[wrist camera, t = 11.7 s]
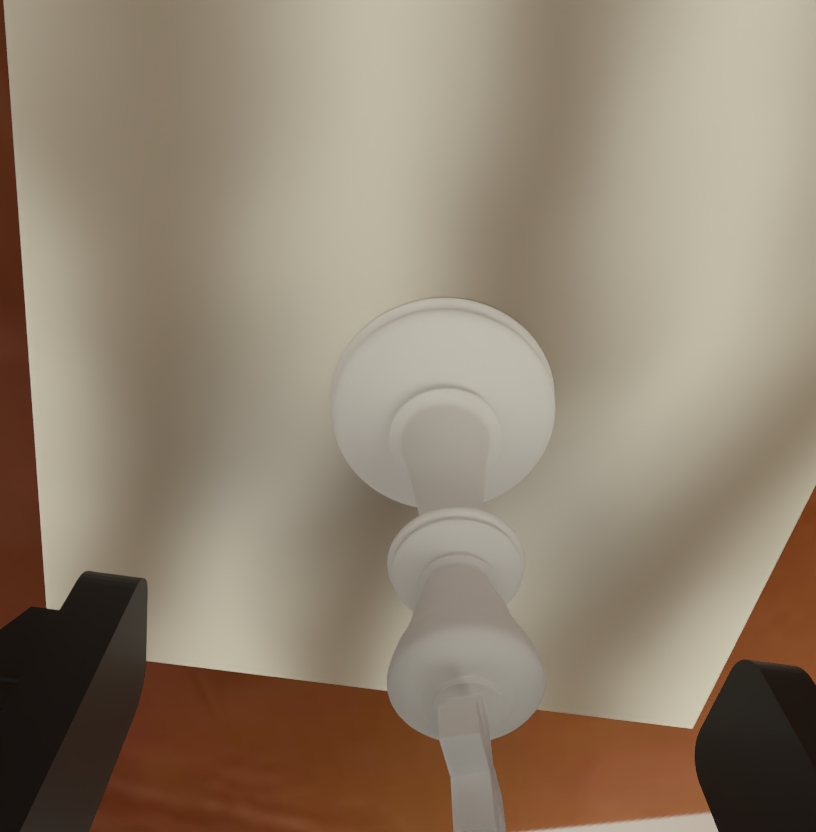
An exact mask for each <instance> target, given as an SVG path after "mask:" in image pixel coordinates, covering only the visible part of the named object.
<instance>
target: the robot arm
mask: <svg viewBox="0 0 816 832" xmlns="http://www.w3.org/2000/svg"><path fill="white" fill-rule="evenodd" d="M147 602H148V586H147V581H146V579H145V578H139V577H132V576H124V575H116V574H109V573H101V572H94V571H85V572H83V573H82V574H81V575H80V577H79V578H78V580H77V581H76V583H75V585H74V586H73V588H72V590H71V591H70V593H69V595H68V597H67V598H66V600H65V602H64V603H63V605H62V607H61V608H60V610H54V609H46V608H38V607H30V608H29V609H27V610H26V611H25V612H23V613H22V614H21V615H19V616H18V617H17V618H15V619H14V620H13V621H11V622H10V623H9V624H7V625H6V626H5V627H3V628H2V629H1V630H0V832H89V830H90V828H91V825H92V823H93V820H94V818H95V815H96V812H97V810H98V807H99V805H100V802H101V800H102V797H103V794H104V792H105V789H106V787H107V784H108V782H109V779H110V776H111V774H112V771H113V769H114V766H115V764H116V761H117V759H118V756H119V753H120V751H121V748H122V746H123V743H124V741H125V738H126V735H127V733H128V730H129V728H130V725H131V723H132V720H133V718H134V715H135V712H136V709H137V706H138V703H139V699H140V695H141V691H142V687H143V682H144V676H145V669H146V645H147ZM695 766H696V772H697V776H698V780H699V783H700V786H701V788H702V791H703V793H704V796H705V798H706V801H707V803H708V806H709V808H710V811H711V813H712V816H713V818H714V821H715V823H716V826H717V829H718V831H719V832H816V685H815V684H814V682H813V681H812V679H811V678H810V676H809V675H808V674H807V673H806V672H805V671H804V670H803V669H801V668H800V667H797V666H790V665H783V664H775V663H768V662H760V661H753V660H741V661H739V662H737V663H736V664H735V665H734V667H733V668H732V670H731V672H730V674H729V676H728V677H727V679H726V681H725V683H724V685H723V687H722V689H721V691H720V693H719V695H718V697H717V699H716V700H715V702H714V704H713V706H712V708H711V710H710V712H709V714H708V716H707V718H706V720H705V722H704V724H703V725H702V727H701V729H700V731H699V734H698V737H697V740H696V746H695Z"/></svg>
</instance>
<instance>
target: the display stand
mask: <svg viewBox="0 0 816 832" xmlns="http://www.w3.org/2000/svg"><path fill="white" fill-rule="evenodd" d="M3 1H4V15H5V29H6V43H7V57H8V71H9V85H10V99H11V114H12V128H13V142H14V156H15V170H16V184H17V198H18V212H19V226H20V241H21V255H22V269H23V283H24V297H25V311H26V325H27V339H28V353H29V367H30V382H31V396H32V410H33V424H34V438H35V452H36V466H37V480H38V494H39V509H40V523H41V537H42V551H43V565H44V579H45V593H46V607H47V609H54V610H60V608H61V607H62V605H63V603H64V602H65V600H66V598H67V597H68V595H69V593H70V591H71V590H72V588H73V586H74V585H75V583H76V581H77V580H78V578H79V577H80V575H81V574H82V573H83V572H85V571H94V572H101V573H109V574H116V575H124V576H132V577H139V578H145V579H146V581H147V586H148V602H147V645H146V661H152V662H160V663H168V664H176V665H184V666H192V667H200V668H208V669H216V670H224V671H232V672H240V673H248V674H256V675H264V676H272V677H280V678H288V679H296V680H304V681H312V682H320V683H328V684H336V685H344V686H352V687H360V688H368V689H376V690H385V691H387V674H388V669H389V665H390V662H391V659H392V656H393V654H394V651H395V649H396V647H397V645H398V642H399V640H400V638H401V637H402V635H403V633H404V632H405V631H406V629H407V627H408V625H409V623H410V621H411V619H412V615H413V612H414V611H412V610H411V609H409V608H408V607H407V606H406V605H405V604H404V603H403V602H402V601H401V600H400V598H399V597H398V595H397V594H396V592H395V590H394V587H393V585H392V583H391V581H390V578H389V574H388V569H387V557H388V552H389V549H390V546H391V544H392V542H393V540H394V538H395V537H396V535H397V534H398V532H399V531H400V530H401V529H402V528H403V527H404V526H405V525H406V524H408V523H409V522H410V521H411V520H413V519H414V518H416V517H418V516H419V512H418V508H417V507H413V506H409V505H405V504H402V503H400V502H397V501H394V500H392V499H390V498H388V497H386V496H384V495H382V494H380V493H379V492H377V491H376V490H374V489H373V488H371V487H370V486H369V485H368V484H366V483H365V482H364V481H363V480H362V479H361V478H360V477H359V476H358V475H357V474H356V473H355V472H354V471H353V469H352V468H351V467H350V466H349V464H348V463H347V461H346V460H345V458H344V456H343V454H342V453H341V451H340V448H339V446H338V443H337V441H336V438H335V434H334V430H333V424H332V414H331V404H330V396H331V386H332V381H333V377H334V373H335V370H336V367H337V365H338V362H339V360H340V358H341V356H342V354H343V353H344V351H345V349H346V348H347V346H348V345H349V344H350V342H351V341H352V340H353V339H354V337H355V336H356V335H357V334H358V333H359V332H360V331H361V330H362V329H363V328H364V327H365V326H367V325H368V324H369V323H370V322H372V321H373V320H374V319H376V318H377V317H379V316H381V315H382V314H384V313H386V312H388V311H390V310H392V309H394V308H396V307H399V306H401V305H404V304H407V303H410V302H414V301H418V300H423V299H430V298H459V299H466V300H471V301H475V302H479V303H482V304H485V305H488V306H490V307H493V308H495V309H497V310H499V311H501V312H503V313H505V314H506V315H508V316H510V317H511V318H513V319H514V320H515V321H517V322H518V323H519V324H520V325H522V326H523V327H524V328H525V329H526V330H527V331H528V332H529V333H530V334H531V335H532V337H533V338H534V339H535V340H536V342H537V343H538V345H539V346H540V348H541V349H542V351H543V353H544V355H545V357H546V359H547V361H548V363H549V366H550V369H551V373H552V377H553V382H554V391H555V420H554V426H553V430H552V434H551V437H550V440H549V442H548V445H547V447H546V449H545V451H544V453H543V455H542V456H541V458H540V459H539V461H538V462H537V464H536V465H535V466H534V468H533V469H532V470H531V471H530V472H529V473H528V474H527V475H526V476H525V477H524V478H523V479H522V480H521V481H520V482H519V483H518V484H516V485H515V486H514V487H512V488H511V489H509V490H508V491H506V492H505V493H503V494H501V495H499V496H497V497H495V498H493V499H491V500H489V501H486V502H484V511H486V512H489V513H491V514H493V515H495V516H497V517H499V518H500V519H502V520H503V521H505V522H506V523H507V524H508V525H509V526H510V527H511V528H512V529H513V530H514V531H515V533H516V534H517V535H518V537H519V539H520V541H521V543H522V546H523V549H524V554H525V568H524V572H523V576H522V580H521V583H520V586H519V588H518V590H517V592H516V594H515V595H514V597H513V598H512V599H511V600H510V602H509V603H508V604H506V606H507V608H508V610H509V612H510V614H511V615H512V617H513V618H514V620H515V621H516V622H517V623H518V624H519V625H520V626H521V627H522V628H523V630H524V631H525V632H526V634H527V635H528V637H529V639H530V640H531V642H532V643H533V645H534V646H535V648H536V650H537V652H538V654H539V656H540V658H541V660H542V663H543V666H544V670H545V690H544V694H543V697H542V700H541V702H540V704H539V706H538V708H537V710H545V711H553V712H561V713H569V714H577V715H585V716H593V717H601V718H609V719H617V720H625V721H633V722H641V723H649V724H657V725H665V726H673V727H681V728H689V729H693V727H694V725H695V723H696V721H697V719H698V717H699V715H700V713H701V711H702V709H703V707H704V705H705V703H706V701H707V699H708V697H709V695H710V693H711V691H712V689H713V687H714V685H715V683H716V681H717V679H718V677H719V675H720V673H721V671H722V669H723V667H724V665H725V664H726V662H727V660H728V658H729V656H730V654H731V652H732V650H733V648H734V646H735V644H736V642H737V640H738V638H739V636H740V634H741V632H742V630H743V628H744V626H745V624H746V622H747V620H748V618H749V616H750V614H751V612H752V610H753V608H754V606H755V604H756V602H757V600H758V598H759V596H760V594H761V592H762V590H763V588H764V586H765V584H766V582H767V580H768V578H769V576H770V574H771V572H772V570H773V568H774V566H775V564H776V563H777V561H778V559H779V557H780V555H781V553H782V551H783V549H784V547H785V545H786V543H787V541H788V539H789V537H790V535H791V533H792V531H793V529H794V527H795V525H796V523H797V521H798V519H799V517H800V515H801V513H802V511H803V509H804V507H805V505H806V503H807V501H808V499H809V497H810V495H811V493H812V491H813V489H814V487H815V485H816V0H3Z"/></svg>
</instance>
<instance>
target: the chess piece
mask: <svg viewBox="0 0 816 832" xmlns="http://www.w3.org/2000/svg"><path fill="white" fill-rule="evenodd" d="M330 404H331V414H332V424H333V430H334V434H335V438H336V441H337V443H338V446H339V448H340V451H341V453H342V454H343V456H344V458H345V460H346V461H347V463H348V464H349V466H350V467H351V468H352V469H353V471H354V472H355V473H356V474H357V475H358V476H359V477H360V478H361V479H362V480H363V481H364V482H365V483H366V484H368V485H369V486H370V487H371V488H373V489H374V490H376V491H377V492H379V493H380V494H382V495H384V496H386V497H388V498H390V499H392V500H394V501H397V502H400V503H402V504H405V505H409V506H413V507H417V508H418V512H419V516H418V517H416V518H414V519H413V520H411V521H410V522H409V523H408V524H406V525H405V526H404V527H403V528H402V529H401V530H400V531H399V532H398V534H397V535H396V537H395V538H394V540H393V542H392V544H391V546H390V549H389V552H388V557H387V569H388V574H389V578H390V581H391V583H392V585H393V587H394V590H395V592H396V594H397V595H398V597H399V598H400V600H401V601H402V602H403V603H404V604H405V605H406V606H407V607H408V608H409V609H411V610H412V611H414V612H413V615H412V619H411V621H410V623H409V625H408V627H407V629H406V631H405V632H404V633H403V635H402V637H401V638H400V640H399V642H398V645H397V647H396V649H395V651H394V654H393V656H392V659H391V662H390V665H389V669H388V674H387V691H388V695H389V699H390V701H391V704H392V706H393V708H394V709H395V711H396V712H397V714H398V715H399V716H400V717H401V718H402V719H403V720H404V721H405V722H406V723H407V724H408V725H409V726H411V727H412V728H414V729H415V730H417V731H418V732H420V733H422V734H424V735H426V736H429V737H431V738H434V739H438V740H439V741H440V744H441V748H442V751H443V754H444V757H445V761H446V764H447V767H448V771H449V774H450V777H451V795H452V814H453V832H506V828H505V820H504V811H503V803H502V796H501V792H500V788H499V784H498V780H497V776H496V773H495V769H494V765H493V759H492V750H491V741H490V740H492V739H495V738H498V737H501V736H503V735H505V734H507V733H509V732H511V731H513V730H515V729H516V728H518V727H519V726H521V725H522V724H523V723H524V722H526V721H527V720H528V719H529V718H530V717H531V716H532V714H533V713H534V712H535V711H536V709H537V708H538V706H539V704H540V702H541V700H542V697H543V694H544V690H545V670H544V666H543V663H542V660H541V658H540V656H539V654H538V652H537V650H536V648H535V646H534V645H533V643H532V642H531V640H530V639H529V637H528V635H527V634H526V632H525V631H524V630H523V628H522V627H521V626H520V625H519V624H518V623H517V622H516V621H515V620H514V618H513V617H512V615H511V614H510V612H509V610H508V608H507V606H506V604H508V603H509V602H510V600H511V599H512V598H513V597H514V595H515V594H516V592H517V590H518V588H519V586H520V583H521V580H522V576H523V572H524V568H525V554H524V549H523V546H522V543H521V541H520V539H519V537H518V535H517V534H516V533H515V531H514V530H513V529H512V528H511V527H510V526H509V525H508V524H507V523H506V522H505V521H503V520H502V519H500V518H499V517H497V516H495V515H493V514H491V513H489V512H486V511H484V502H486V501H489V500H491V499H493V498H495V497H497V496H499V495H501V494H503V493H505V492H506V491H508V490H509V489H511V488H512V487H514V486H515V485H516V484H518V483H519V482H520V481H521V480H522V479H523V478H524V477H525V476H526V475H527V474H528V473H529V472H530V471H531V470H532V469H533V468H534V466H535V465H536V464H537V462H538V461H539V459H540V458H541V456H542V455H543V453H544V451H545V449H546V447H547V445H548V442H549V440H550V437H551V434H552V430H553V426H554V420H555V391H554V382H553V377H552V373H551V369H550V366H549V363H548V361H547V359H546V357H545V355H544V353H543V351H542V349H541V348H540V346H539V345H538V343H537V342H536V340H535V339H534V338H533V337H532V335H531V334H530V333H529V332H528V331H527V330H526V329H525V328H524V327H523V326H522V325H520V324H519V323H518V322H517V321H515V320H514V319H513V318H511V317H510V316H508V315H506V314H505V313H503V312H501V311H499V310H497V309H495V308H493V307H490V306H488V305H485V304H482V303H479V302H475V301H471V300H466V299H459V298H430V299H423V300H418V301H414V302H410V303H407V304H404V305H401V306H399V307H396V308H394V309H392V310H390V311H388V312H386V313H384V314H382V315H381V316H379V317H377V318H376V319H374V320H373V321H372V322H370V323H369V324H368V325H367V326H365V327H364V328H363V329H362V330H361V331H360V332H359V333H358V334H357V335H356V336H355V337H354V339H353V340H352V341H351V342H350V344H349V345H348V346H347V348H346V349H345V351H344V353H343V354H342V356H341V358H340V360H339V362H338V365H337V367H336V370H335V373H334V377H333V381H332V386H331V396H330Z"/></svg>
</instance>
